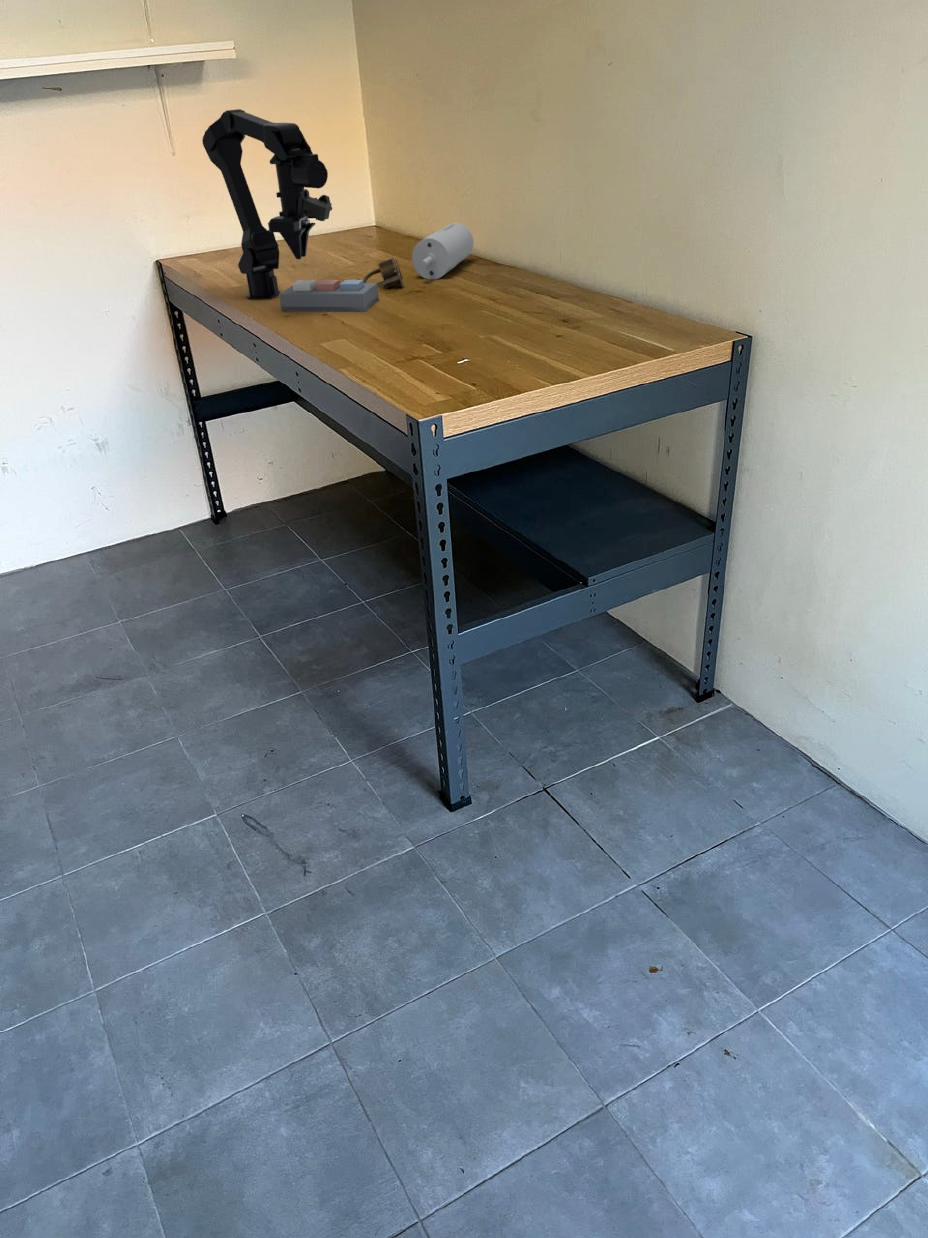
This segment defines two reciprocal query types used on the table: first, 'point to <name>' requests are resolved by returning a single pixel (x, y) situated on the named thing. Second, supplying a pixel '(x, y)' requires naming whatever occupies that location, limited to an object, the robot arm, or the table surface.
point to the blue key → (351, 285)
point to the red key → (328, 285)
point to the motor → (442, 251)
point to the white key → (304, 285)
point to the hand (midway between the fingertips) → (301, 257)
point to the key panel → (329, 299)
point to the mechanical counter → (387, 274)
